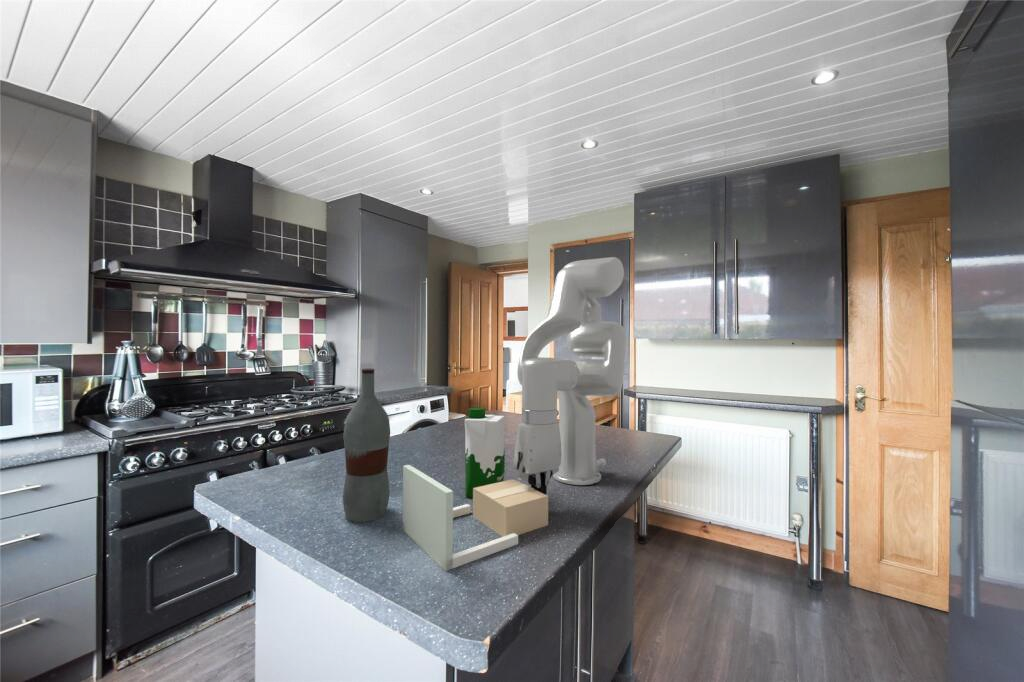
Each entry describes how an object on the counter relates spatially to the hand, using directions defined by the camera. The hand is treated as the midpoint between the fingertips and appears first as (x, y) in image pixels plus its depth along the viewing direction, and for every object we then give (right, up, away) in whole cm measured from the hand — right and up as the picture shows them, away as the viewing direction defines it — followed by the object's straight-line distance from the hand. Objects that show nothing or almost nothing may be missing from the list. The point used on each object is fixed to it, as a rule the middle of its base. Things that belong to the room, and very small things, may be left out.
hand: (538, 503), depth 83 cm
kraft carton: (-6, -2, -5) cm, 8 cm away
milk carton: (-12, -2, +10) cm, 16 cm away
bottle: (-36, -1, -2) cm, 36 cm away
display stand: (-15, -1, -11) cm, 19 cm away
